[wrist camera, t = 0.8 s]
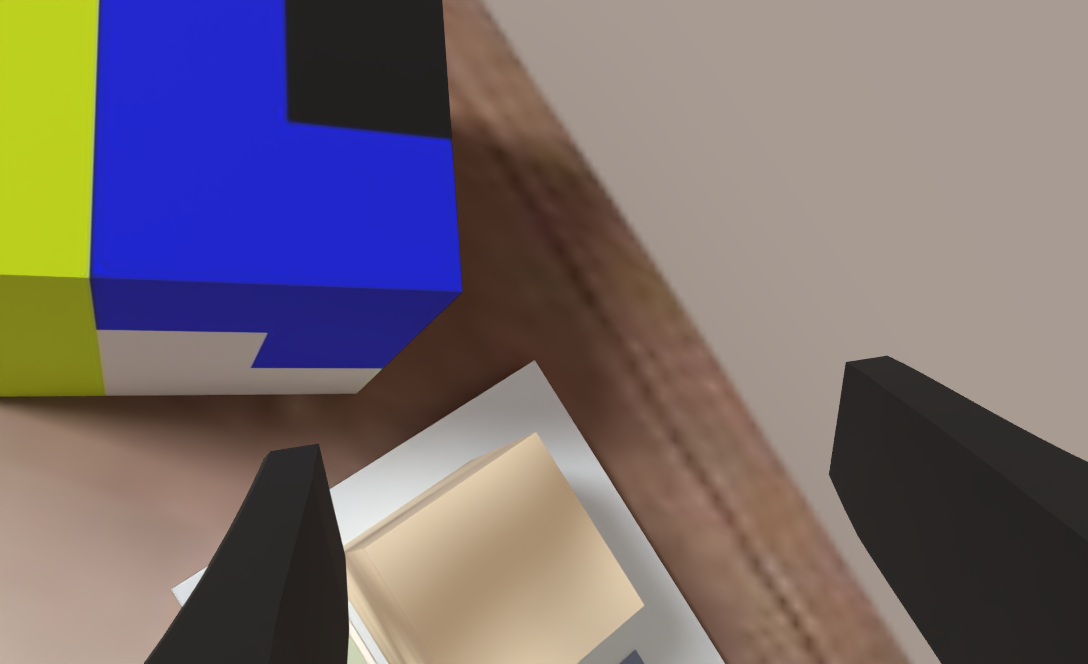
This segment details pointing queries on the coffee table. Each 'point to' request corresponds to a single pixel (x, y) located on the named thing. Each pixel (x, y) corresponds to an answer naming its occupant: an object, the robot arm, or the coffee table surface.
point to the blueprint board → (532, 406)
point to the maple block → (489, 569)
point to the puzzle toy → (221, 194)
